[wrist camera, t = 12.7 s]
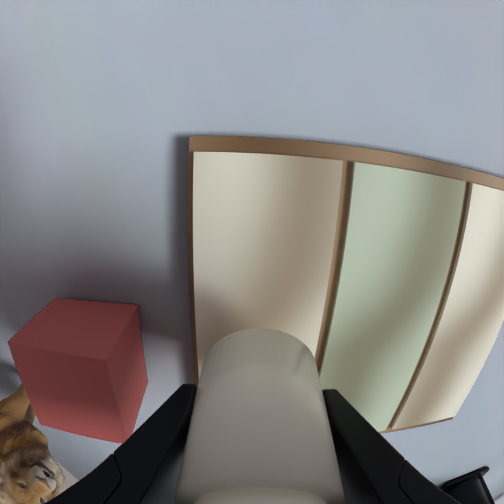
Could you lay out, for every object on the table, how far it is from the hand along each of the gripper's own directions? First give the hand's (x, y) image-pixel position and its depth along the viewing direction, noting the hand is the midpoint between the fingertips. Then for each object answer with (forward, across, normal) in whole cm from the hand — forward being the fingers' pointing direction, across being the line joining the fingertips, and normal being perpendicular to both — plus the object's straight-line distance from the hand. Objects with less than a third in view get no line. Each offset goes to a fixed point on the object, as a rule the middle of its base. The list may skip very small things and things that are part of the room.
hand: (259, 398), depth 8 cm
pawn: (+1, 0, 0) cm, 1 cm away
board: (+4, -5, 0) cm, 6 cm away
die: (+2, +5, +1) cm, 5 cm away
